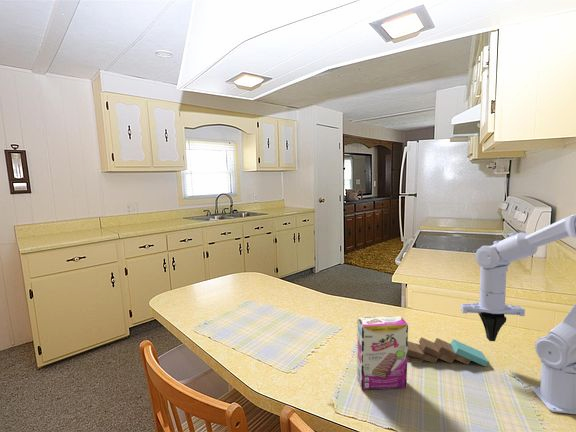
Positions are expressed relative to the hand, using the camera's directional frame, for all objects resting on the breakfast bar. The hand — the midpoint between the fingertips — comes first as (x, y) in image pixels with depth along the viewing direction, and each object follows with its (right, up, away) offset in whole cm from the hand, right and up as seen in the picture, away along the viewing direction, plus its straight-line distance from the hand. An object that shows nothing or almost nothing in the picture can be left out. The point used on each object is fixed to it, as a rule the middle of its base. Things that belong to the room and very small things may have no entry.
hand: (490, 339), depth 84 cm
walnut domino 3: (-9, -6, +3) cm, 11 cm away
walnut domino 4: (-5, -6, +2) cm, 8 cm away
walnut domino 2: (-14, -6, +4) cm, 15 cm away
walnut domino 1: (-17, -7, +4) cm, 19 cm away
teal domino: (-1, -6, +1) cm, 6 cm away
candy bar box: (-31, -9, -6) cm, 33 cm away
